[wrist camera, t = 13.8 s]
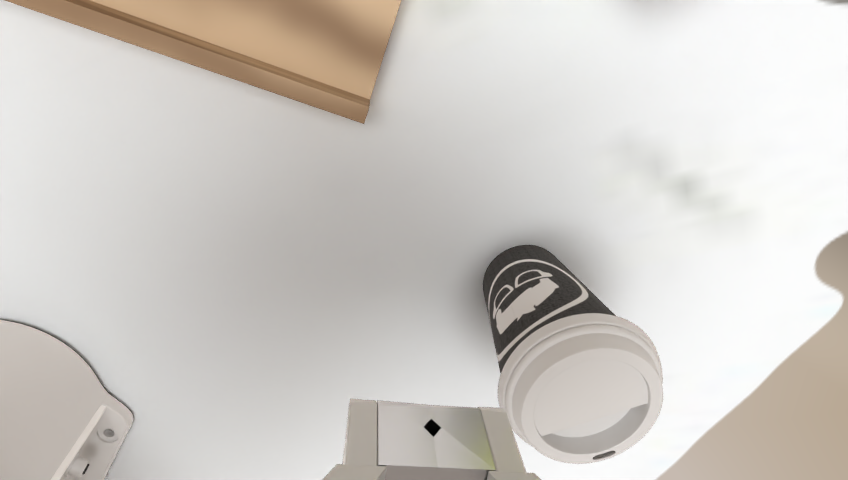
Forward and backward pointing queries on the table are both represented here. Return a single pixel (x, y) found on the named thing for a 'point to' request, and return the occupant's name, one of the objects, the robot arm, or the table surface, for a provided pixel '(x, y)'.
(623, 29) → the table surface
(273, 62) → the box
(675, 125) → the table surface
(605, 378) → the coffee cup
